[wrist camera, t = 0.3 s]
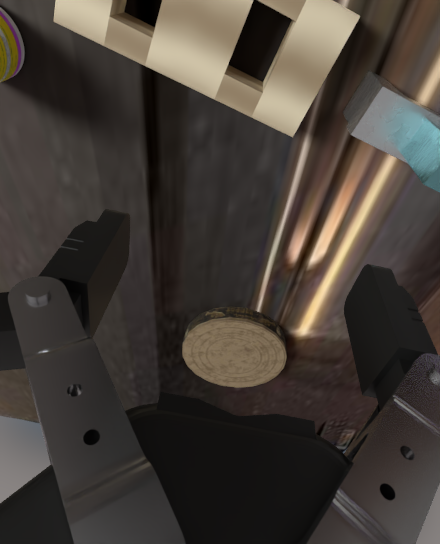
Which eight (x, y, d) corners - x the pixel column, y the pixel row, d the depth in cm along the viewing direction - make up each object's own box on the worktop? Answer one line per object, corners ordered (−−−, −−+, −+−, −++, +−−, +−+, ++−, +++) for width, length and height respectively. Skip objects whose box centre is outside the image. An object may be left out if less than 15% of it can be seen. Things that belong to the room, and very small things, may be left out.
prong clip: (364, 67, 34) (405, 109, 24) (478, 129, 36) (560, 191, 26) (338, 109, 36) (365, 164, 26) (446, 165, 38) (510, 235, 28)
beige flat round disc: (229, 383, 66) (228, 398, 64) (164, 333, 60) (160, 348, 57) (306, 349, 59) (307, 364, 57) (241, 288, 52) (240, 303, 50)
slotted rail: (94, -135, 27) (72, -149, 24) (351, 11, 31) (360, 16, 28) (73, 16, 33) (53, 21, 30) (290, 123, 37) (292, 137, 34)
